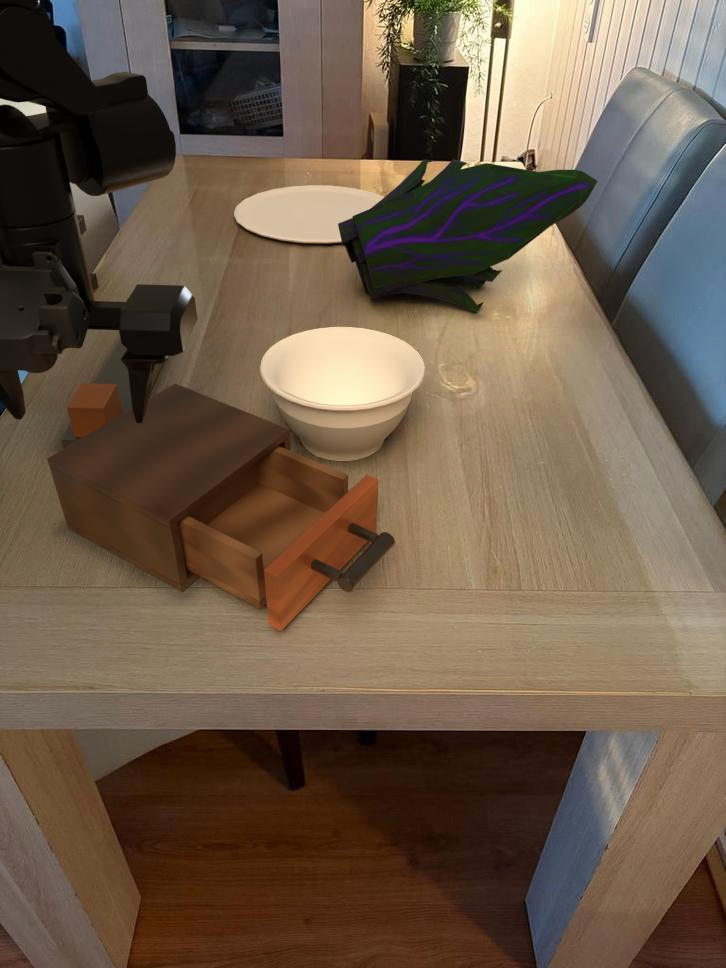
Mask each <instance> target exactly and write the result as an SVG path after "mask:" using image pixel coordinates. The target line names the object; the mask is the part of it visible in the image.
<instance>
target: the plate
mask: <svg viewBox="0 0 726 968" xmlns="http://www.w3.org/2000/svg"><path fill="white" fill-rule="evenodd" d="M384 197H385V196H384V195H382V194H378V193H376V192H372V191H369V190H365V189H361V188H360V189H359V188H354V187H350V186H349V187H348V186H339V185H325V184H321V185H318V184H308V185H293V186H284V187H278V188H273V189H269V190H265V191H261V192H258V193H255V194H253V195H251V196H248V197H246V198H245V199H243V200H242V201H241V202H239V203H238V204H237V205H236V206H235V209H234V211H233V217H234V218H235V220H236V223H237V224H239V225H240V226H241V227H243V228H244V229H245V230H246V231H249V232H251V233H254V234H256V235H258V236H262V237H265V238H269V239H273V240H277V241H282V242H291V243H300V244H327V245H328V244H340V243H342V240H341V236H340V232H339V227H338V223H341V222H343V221H346V220H348V219H351V218H353V217H352V216H354V215H357V214H359V213H361V212H364V211H366V210H369V209H370V208H372V207H373V206H374V205H375V204H377V203H378V202H379V201H380V200H382V199H383V198H384Z"/></svg>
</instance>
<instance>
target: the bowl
mask: <svg viewBox="0 0 726 968" xmlns="http://www.w3.org/2000/svg"><path fill="white" fill-rule="evenodd" d="M259 373H260V377H261V379H262V381H263V382H264V384H265V385H266V386H267V387H268V388H269V389H270V390H271V391H272V395H273V400H274V401H275V404H276V407H277V409H278V412H279V414H280V416H281V417H282V418H283V421H284V422H285V423H286V424H287V426H288V427H289V430H290V431H292V432H293V433H294V434H295V435H296V436H297V437H298V438H299V439H300V442H301V444H302V446H303V448H304V449H306V450H307V451H308V452H309V453H310V454H311V455H314V456H316V457H318V458H321V459H324V460H328V461H335V462H351V461H352V462H353V461H357V460H362V459H365V458H367V457H370V456H372V455H373V454H375V453H377V452H378V450H380V449H381V447H382V446H383V445H384V443H385V439H387V437H388V436H390V434H392V432H394V430H395V429H396V428H397V427H398V425H399V424H400V422H401V421H402V419H403V418H404V416H405V415H406V413H407V411H408V407H409V405H410V403H411V401H412V396H413V392H414V391H415V390H416V389H417V388H419V387H420V386H421V384H422V382H423V380H424V379H425V374H426V367H425V362H424V359H423V357H422V356H421V354H420V353H419V351H417V349H416V348H414V347H413V345H411V344H409V343H408V342H406V341H404V340H403V339H401V338H398V337H396V336H394V335H391V334H389V333H386V332H382V331H378V330H375V329H370V328H369V329H368V328H363V327H351V326H331V327H320V328H312V329H308V330H304V331H301V332H297V333H294V334H293V333H292V334H290V335H288V336H287V337H284V338H282V339H281V340H279V341H277V342H276V343H274V344H273V345H271V346H270V347H269V349H267V350H266V351H265V353H264V355H263V356H262V358H261V360H260V366H259Z"/></svg>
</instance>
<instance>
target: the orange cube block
mask: <svg viewBox="0 0 726 968" xmlns="http://www.w3.org/2000/svg"><path fill="white" fill-rule="evenodd" d="M66 409H67V414H68V417H69V421H70V424H71V425H72V429H73V433H74V436H75V437H78V438H83V437H84V436H86V435H88V434H90V433H91V432H93V431H95V430H96V429H98V428H100V427H101V426H103V425H105V424H107V423H108V422H110V421H112V420H113V419H115V418H117V417H118V416H120V415H122V414H123V412H122V408H121V403H120V398H119V393H118V389H117V385H116V384H95V383H90V382H89V383H88V382H81V384H80V385H79V387H78V388H77V390H76V391H75V393H74V395H73V396H72V398H71V399H70V401H69V403H68V404H67V406H66Z"/></svg>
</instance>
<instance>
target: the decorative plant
mask: <svg viewBox="0 0 726 968" xmlns="http://www.w3.org/2000/svg"><path fill="white" fill-rule="evenodd" d="M432 162H434V160H432V159H425V158H424V159H422V160H421V161H420V162H419V164H418V165H417V166H416V168H414V169H413V170H412V171H411V172H410V173H409V174H408V175H407V176H406V177H405V178H404V179H403V180H402V181H400V183H399V184H398V185H397V186H396V187H394V189H392V190H391V191H390V192H389V193H387V194H386V195H385V196H384V198H383V199H382V200H380V201H379V202H378V203H377V204H375V205H374V206H373V207H372V208H370V209H369V210H366V211H364V212H361V213H359V214H357V215H354V216H352V217H353V218H351V219H348V220H346V221H343V222H341V223H338V227H339V232H340V236H341V240H342V242H341V244H342V247H345V250H346V254H347V255H348V258H349V260H350V262H351V264H353V263H355V265H356V268H357V272H358V275H359V278H360V281H361V284H362V287H363V290H364V293H365V294H368V295H369V297H370V299H371V300H374V299H377V298H380V297H384V296H387V295H396V294H412V295H418V296H421V297H422V296H423V297H426V298H427V297H428V298H432V299H436V300H440V301H444V302H446V303H447V302H448V303H451V304H453V305H456V306H459V307H462V308H465V309H468V310H469V311H472V312H474V313H476V314H477V313H478V312H479V310H480V309H481V307H482V306H483V304H484V303H485V302H484V301H483V302H480V303H478V304H477V303H476V302H475V300H474V299H473V298H472V296H471V295H470V294H469V293H468V292H466V290H464V289H463V288H466V287H467V288H473V289H478V290H479V289H480V288H482V287H483V286H484V285H485V284H486V282H489V283H493V281H494V280H495V279H496V278H497V277H498V276H499V275H500V274H501V273H502V272H503V269H499V270H498V269H494V268H493V266H495V265H498V264H500V263H503V262H505V261H508V260H510V259H511V258H512V257H514V256H515V255H516V254H517V253H518V252H520V251H521V250H522V249H524V248H525V247H526V246H528V245H529V244H530V243H531V242H533V241H534V240H535V239H536V238H537V237H539V236H540V235H541V234H543V233H544V232H545V231H546V230H548V229H549V228H551V226H553V225H555V224H557V223H559V222H560V221H562V220H564V219H565V218H567V217H569V216H571V215H572V214H573V213H574V212H576V211H577V210H579V209H580V208H581V207H582V206H583V205H584V204H585V203H586V202H587V201H588V199H589V197H590V196H591V194H592V192H593V190H594V189H595V187H596V185H597V183H598V180H597V179H595V178H594V177H592V176H591V175H589V174H588V173H586V172H585V171H583V170H578V169H552V170H542V171H541V170H540V171H536V170H530V169H524V168H518V167H512V166H508V165H507V166H506V165H502V164H501V165H500V164H495V163H494V164H493V163H488V162H485V163H481V164H477V165H473V166H469V167H464V166H467V164H469V162H466V161H463V160H458V159H454V158H453V159H452V160H451V161H450V162H449V163H448V164H447V165H446V166H445V167H444V168H443V169H442V170H441V171H440V172H439V173H438V174H437V175H436V176H435V177H433V178H432V179H431V180H430V181H428V182H426V180H425V179H423V178H424V176H425V174H426V173H427V167H428V164H429V163H432ZM463 167H464V168H463ZM425 182H426V183H425Z"/></svg>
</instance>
